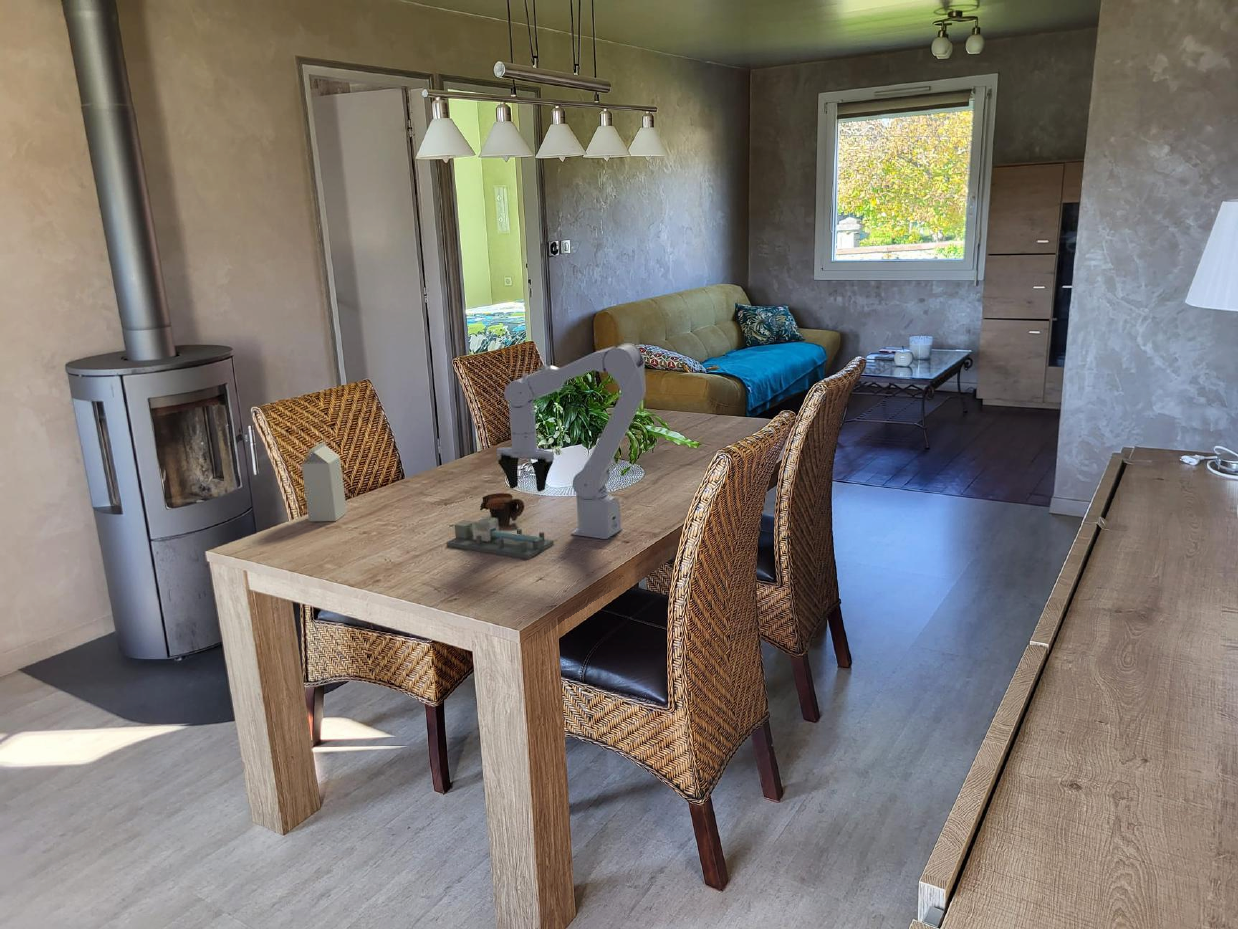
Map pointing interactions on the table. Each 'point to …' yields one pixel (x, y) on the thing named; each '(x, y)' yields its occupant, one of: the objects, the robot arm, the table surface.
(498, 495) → the pottery mug
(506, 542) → the miniature lathe model
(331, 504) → the milk carton
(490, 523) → the sleeve
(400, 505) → the table surface
